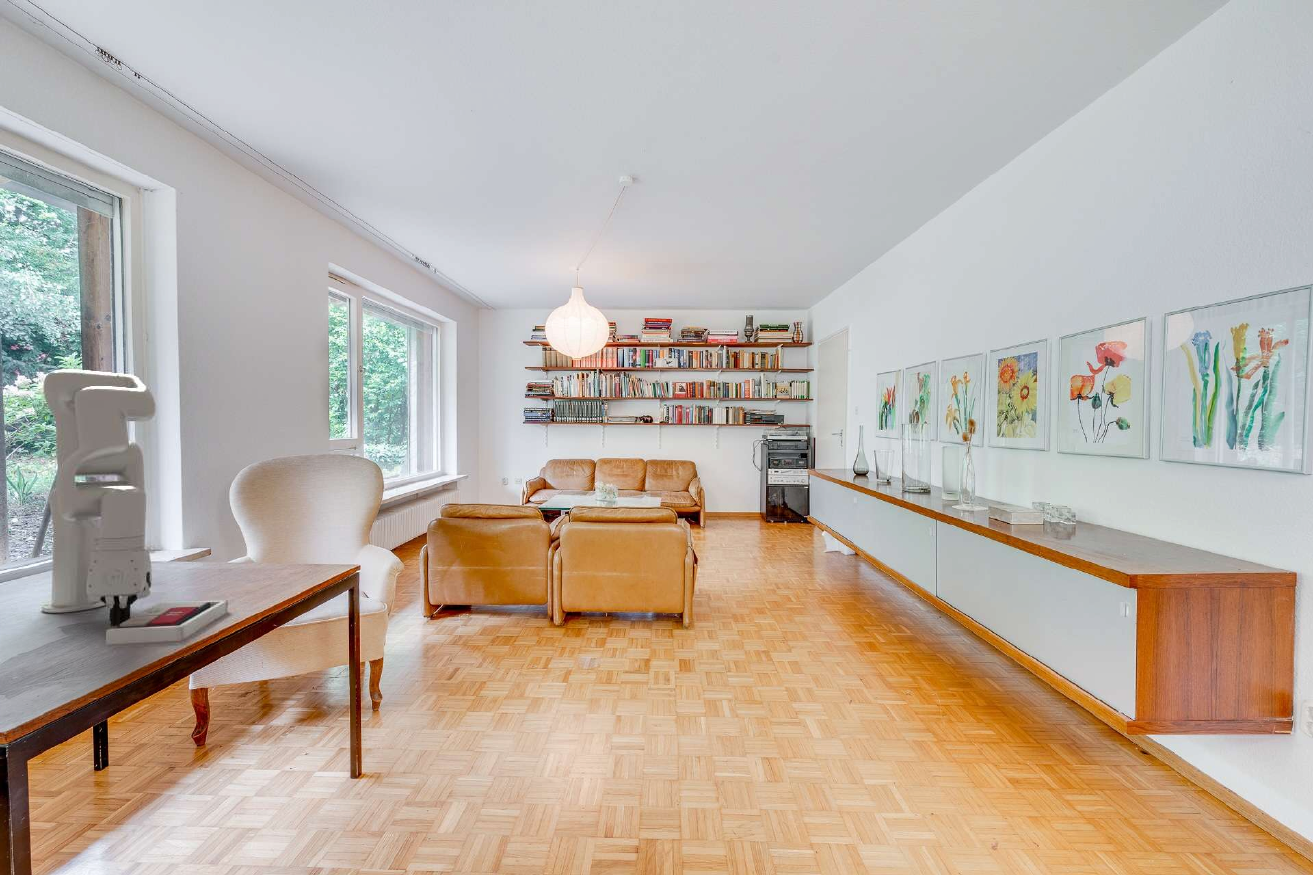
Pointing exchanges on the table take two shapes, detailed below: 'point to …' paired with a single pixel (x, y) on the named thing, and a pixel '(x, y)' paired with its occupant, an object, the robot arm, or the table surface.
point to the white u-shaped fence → (167, 628)
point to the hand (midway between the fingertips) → (119, 623)
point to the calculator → (166, 615)
